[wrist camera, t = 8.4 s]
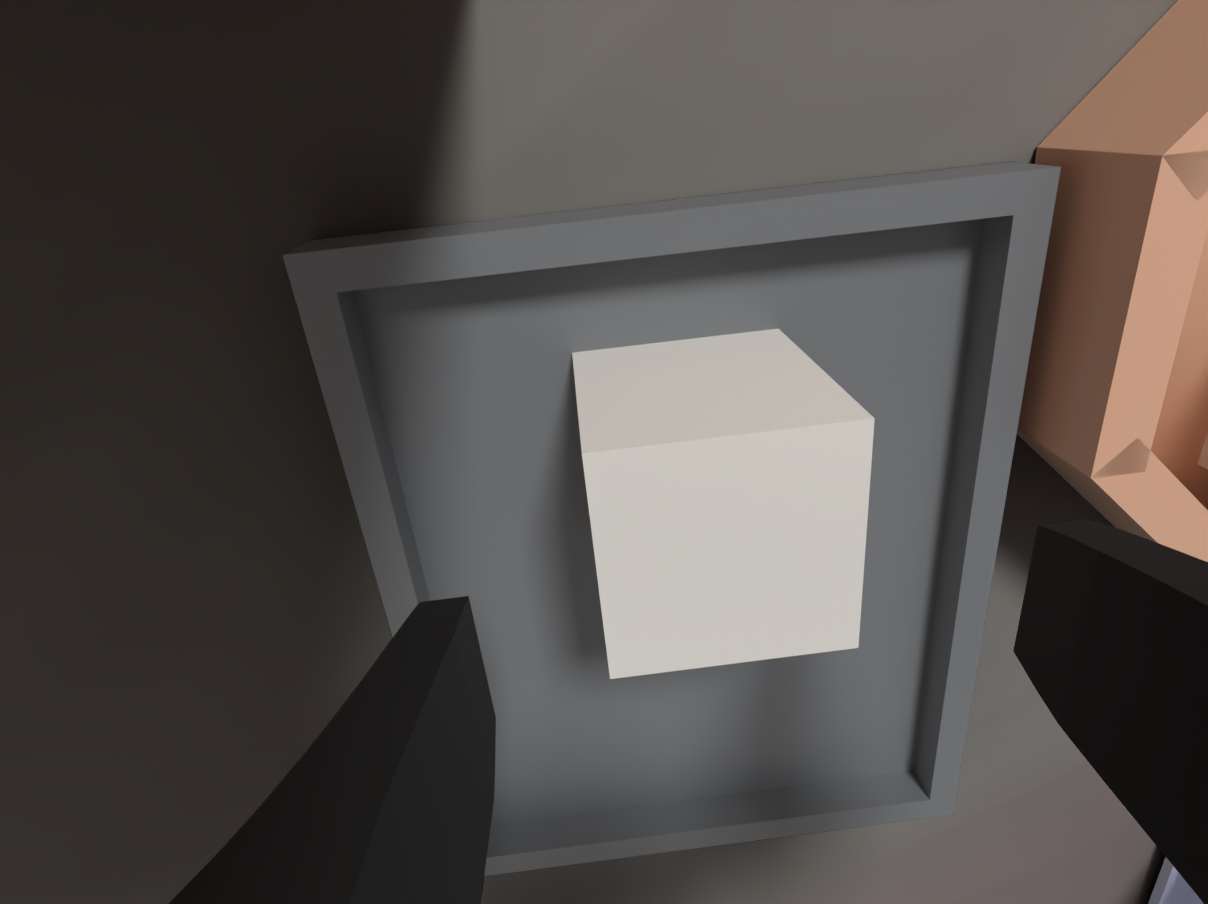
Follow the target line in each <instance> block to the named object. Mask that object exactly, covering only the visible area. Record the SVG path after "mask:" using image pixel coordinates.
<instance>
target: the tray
mask: <svg viewBox="0 0 1208 904" xmlns="http://www.w3.org/2000/svg"><path fill="white" fill-rule="evenodd" d="M1060 170H1061V167H1058V166H1048V165H1038V164H1029V163H1019V162H1000V163H991V164H982V165H973V166H964V167H955V168H947V169H938V170H929V171H920V172H911V173H902V174H894V175H885V176H876V177H867V178H858V179H849V180H840V181H832V182H823V183H814V184H805V185H796V186H787V187H778V188H770V189H761V190H752V191H743V192H734V193H725V194H716V195H708V196H699V197H690V198H681V199H672V200H663V201H654V202H646V203H637V204H628V205H619V206H610V207H601V208H592V209H584V210H575V211H566V212H557V213H548V214H539V215H530V216H522V217H513V218H504V219H495V220H486V221H477V222H468V223H460V224H451V225H442V226H433V227H424V228H415V229H406V230H398V231H389V232H380V233H371V234H362V235H353V236H344V237H336V238H327V239H318V240H310V241H308V242H306V243H304V244H302V245H300V246H298V247H297V248H295V249H293V250H291V251H289V252H287V253H285V254H283V255H282V256H283V259H284V263H285V266H286V270H287V273H288V277H289V280H290V283H291V287H292V290H293V294H294V297H295V301H296V304H297V308H298V311H299V315H300V318H301V322H302V325H303V328H304V332H305V335H306V339H307V342H308V346H309V349H310V353H311V356H312V360H313V363H314V367H315V370H316V374H317V377H318V380H319V384H320V387H321V391H322V394H323V398H324V401H325V405H326V408H327V412H328V415H329V419H330V422H331V425H332V429H333V432H334V436H335V439H336V443H337V446H338V450H339V453H340V457H341V460H342V464H343V467H344V470H345V474H346V477H347V481H348V484H349V488H350V491H351V495H352V498H353V502H354V505H355V509H356V512H357V515H358V519H359V522H360V526H361V529H362V533H363V536H364V540H365V543H366V547H367V550H368V554H369V557H370V560H371V564H372V567H373V571H374V574H375V578H376V581H377V585H378V588H379V592H380V595H381V599H382V602H383V605H384V609H385V612H386V616H387V619H388V623H389V626H390V630H391V633H392V637H394V635H395V634H396V632H397V631H398V630H399V628H400V627H401V626H402V624H403V623H404V621H405V620H406V619H407V617H408V616H409V615H410V613H411V612H412V611H413V610H414V608H415V607H416V606H417V605H418V604H419V602H424V601H432V600H440V599H448V598H456V597H464V596H469V600H470V605H471V609H472V614H473V618H474V623H475V627H476V632H477V636H478V640H479V645H480V649H481V654H482V658H483V663H484V667H485V672H486V676H487V681H488V685H489V690H490V694H491V698H492V703H493V707H494V712H495V716H496V745H495V789H494V804H493V812H492V820H491V828H490V836H489V843H488V851H487V859H486V866H485V874H484V876H490V875H498V874H505V873H513V872H520V871H528V870H536V869H543V868H551V867H558V866H566V865H574V864H581V863H589V862H597V861H604V860H612V859H619V858H627V857H635V856H642V855H650V854H657V853H665V852H673V851H680V850H688V849H696V848H703V847H711V846H718V845H726V844H734V843H741V842H749V841H756V840H764V839H772V838H779V837H787V836H794V835H802V834H810V833H817V832H825V831H833V830H840V829H848V828H855V827H863V826H871V825H878V824H886V823H893V822H901V821H909V820H916V819H924V818H932V817H939V816H947V815H953V813H954V807H955V801H956V795H957V789H958V783H959V777H960V771H961V765H962V759H963V753H964V747H965V741H966V735H967V729H968V723H969V717H970V711H971V705H972V699H973V693H974V687H975V681H976V675H977V669H978V663H979V657H980V651H981V645H982V639H983V633H984V627H985V621H986V615H987V609H988V603H989V597H990V591H991V585H992V579H993V573H994V567H995V561H996V555H997V549H998V543H999V537H1000V531H1001V525H1002V519H1003V513H1004V507H1005V501H1006V495H1007V489H1008V482H1009V476H1010V470H1011V464H1012V458H1013V452H1014V446H1015V440H1016V434H1017V428H1018V422H1019V416H1020V410H1021V404H1022V398H1023V392H1024V386H1025V380H1026V374H1027V368H1028V362H1029V356H1030V350H1031V344H1032V338H1033V332H1034V326H1035V320H1036V314H1037V308H1038V302H1039V296H1040V290H1041V284H1042V278H1043V272H1044V266H1045V260H1046V254H1047V248H1048V242H1049V236H1050V230H1051V224H1052V218H1053V212H1054V206H1055V200H1056V194H1057V188H1058V182H1059V176H1060ZM770 329H780V330H781V331H782V332H783V333H784V334H785V335H786V336H787V337H788V338H789V339H790V340H791V341H792V342H793V343H795V344H796V345H797V346H798V347H799V348H800V349H801V350H802V351H803V352H804V353H805V354H806V355H807V356H808V357H810V358H811V359H812V360H813V361H814V362H815V363H816V364H817V365H818V366H819V367H820V368H821V369H822V370H823V371H824V372H826V373H827V374H828V375H829V376H830V377H831V378H832V379H833V380H834V381H835V382H836V383H837V384H838V385H839V386H841V387H842V388H843V389H844V390H845V391H846V392H847V393H848V394H849V395H850V396H851V397H852V398H853V399H854V400H856V401H857V402H858V403H859V404H860V405H861V406H862V407H863V408H864V409H865V410H866V411H867V412H868V413H869V414H870V415H872V416H873V417H874V418H875V421H874V435H873V449H872V463H871V477H870V491H869V505H868V519H867V534H866V548H865V562H864V576H863V590H862V604H861V618H860V632H859V646H858V648H853V649H845V650H837V651H829V652H822V653H814V654H806V655H798V656H790V657H782V658H774V659H766V660H758V661H750V662H742V663H734V664H727V665H719V666H711V667H703V668H695V669H687V670H679V671H671V672H663V673H655V674H647V675H639V676H631V677H624V678H616V679H610V675H609V667H608V659H607V651H606V643H605V635H604V627H603V619H602V611H601V603H600V595H599V587H598V579H597V571H596V563H595V555H594V547H593V539H592V531H591V523H590V515H589V507H588V499H587V491H586V484H585V476H584V468H583V460H582V451H581V441H580V430H579V420H578V409H577V399H576V389H575V378H574V368H573V357H572V353H574V352H582V351H591V350H599V349H608V348H616V347H625V346H633V345H642V344H651V343H659V342H668V341H676V340H685V339H693V338H702V337H710V336H719V335H727V334H736V333H745V332H753V331H762V330H770Z"/></svg>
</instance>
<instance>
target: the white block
mask: <svg viewBox="0 0 1208 904" xmlns="http://www.w3.org/2000/svg"><path fill="white" fill-rule="evenodd" d="M1198 465H1200V466H1202V467H1204V468H1206V469H1208V432H1207V435H1206V438H1205V441H1204V445H1203V448H1202V451H1201V454H1200V457H1199V461H1198Z"/></svg>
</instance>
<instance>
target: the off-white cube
mask: <svg viewBox="0 0 1208 904" xmlns="http://www.w3.org/2000/svg"><path fill="white" fill-rule="evenodd" d="M572 357H573V368H574V378H575V389H576V399H577V409H578V420H579V430H580V441H581V451H582V460H583V468H584V476H585V484H586V491H587V499H588V507H589V515H590V523H591V531H592V539H593V547H594V555H595V563H596V571H597V579H598V587H599V595H600V603H601V611H602V619H603V627H604V635H605V643H606V651H607V659H608V667H609V675H610V679H616V678H624V677H631V676H639V675H647V674H655V673H663V672H671V671H679V670H687V669H695V668H703V667H711V666H719V665H727V664H734V663H742V662H750V661H758V660H766V659H774V658H782V657H790V656H798V655H806V654H814V653H822V652H829V651H837V650H845V649H853V648H858V646H859V632H860V618H861V604H862V590H863V576H864V562H865V548H866V534H867V519H868V505H869V491H870V477H871V463H872V449H873V435H874V421H875V418H874V417H873V416H872V415H870V414H869V413H868V412H867V411H866V410H865V409H864V408H863V407H862V406H861V405H860V404H859V403H858V402H857V401H856V400H854V399H853V398H852V397H851V396H850V395H849V394H848V393H847V392H846V391H845V390H844V389H843V388H842V387H841V386H839V385H838V384H837V383H836V382H835V381H834V380H833V379H832V378H831V377H830V376H829V375H828V374H827V373H826V372H824V371H823V370H822V369H821V368H820V367H819V366H818V365H817V364H816V363H815V362H814V361H813V360H812V359H811V358H810V357H808V356H807V355H806V354H805V353H804V352H803V351H802V350H801V349H800V348H799V347H798V346H797V345H796V344H795V343H793V342H792V341H791V340H790V339H789V338H788V337H787V336H786V335H785V334H784V333H783V332H782V331H781V330H780V329H770V330H762V331H753V332H745V333H736V334H727V335H719V336H710V337H702V338H693V339H685V340H676V341H668V342H659V343H651V344H642V345H633V346H625V347H616V348H608V349H599V350H591V351H582V352H574V353H572Z"/></svg>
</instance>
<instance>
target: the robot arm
mask: <svg viewBox="0 0 1208 904" xmlns="http://www.w3.org/2000/svg"><path fill="white" fill-rule="evenodd" d="M1014 653H1015V654H1016V656H1017V658H1018V659H1019V661H1020V663H1021V664H1022V666H1023V668H1024V670H1025V671H1026V673H1027V675H1028V676H1029V678H1030V680H1031V681H1032V683H1033V685H1034V686H1035V688H1036V690H1037V691H1038V693H1039V695H1040V696H1041V698H1042V699H1043V701H1044V702H1045V704H1046V705H1047V707H1048V708H1049V710H1050V712H1051V713H1052V715H1053V716H1054V718H1055V719H1056V721H1057V722H1058V724H1059V725H1060V726H1061V728H1062V729H1063V730H1064V732H1065V733H1066V734H1067V735H1068V737H1069V738H1070V739H1071V741H1072V742H1073V743H1074V744H1075V746H1076V747H1077V748H1078V749H1079V751H1080V752H1081V753H1082V754H1083V756H1084V757H1085V758H1086V759H1087V761H1088V762H1089V763H1090V764H1091V766H1092V767H1093V768H1094V769H1095V771H1096V772H1097V773H1098V774H1099V776H1100V777H1101V778H1102V779H1103V781H1104V782H1105V783H1106V784H1107V785H1108V787H1109V788H1110V789H1111V790H1112V792H1113V793H1114V794H1115V795H1116V796H1117V798H1118V799H1119V800H1120V801H1121V803H1122V804H1123V805H1124V806H1125V807H1126V809H1127V810H1128V811H1129V812H1130V814H1131V815H1132V816H1133V817H1134V818H1135V820H1136V821H1137V822H1138V823H1139V825H1140V826H1141V827H1142V828H1143V830H1144V831H1145V832H1146V833H1147V834H1148V836H1149V837H1150V838H1151V839H1152V841H1153V842H1154V843H1155V844H1156V845H1157V847H1158V848H1159V849H1160V850H1161V852H1162V853H1163V854H1164V855H1165V856H1166V857H1165V859H1164V862H1163V865H1162V868H1161V870H1160V873H1159V876H1158V878H1157V881H1156V884H1155V886H1154V889H1153V892H1152V895H1151V897H1150V900H1149V903H1148V904H1208V562H1206V561H1203V560H1201V559H1198V558H1196V557H1193V556H1190V555H1188V554H1185V553H1183V552H1180V551H1177V550H1175V549H1172V548H1170V547H1167V546H1164V545H1162V544H1159V543H1156V542H1154V541H1151V540H1148V539H1145V538H1143V537H1140V536H1137V535H1135V534H1132V533H1129V532H1126V531H1123V530H1120V529H1117V528H1114V527H1111V526H1108V525H1105V524H1102V523H1098V522H1095V521H1092V520H1088V519H1079V520H1071V521H1063V522H1055V523H1047V524H1039V525H1038V528H1037V533H1036V538H1035V543H1034V549H1033V554H1032V559H1031V564H1030V569H1029V574H1028V579H1027V585H1026V590H1025V595H1024V600H1023V605H1022V610H1021V615H1020V621H1019V626H1018V631H1017V636H1016V641H1015V646H1014ZM495 745H496V716H495V712H494V707H493V703H492V698H491V694H490V690H489V685H488V681H487V676H486V672H485V667H484V663H483V658H482V654H481V649H480V645H479V640H478V636H477V632H476V627H475V623H474V618H473V614H472V609H471V605H470V600H469V596H464V597H456V598H448V599H440V600H432V601H424V602H419V604H418V605H417V606H416V607H415V608H414V610H413V611H412V612H411V613H410V615H409V616H408V617H407V619H406V620H405V621H404V623H403V624H402V626H401V627H400V628H399V630H398V631H397V632H396V634H395V635H394V637H393V638H392V639H391V641H390V642H389V644H388V645H387V646H386V648H385V649H384V651H383V652H382V653H381V655H380V656H379V657H378V659H377V660H376V662H375V663H374V664H373V666H372V667H371V668H370V670H369V671H368V672H367V674H366V675H365V676H364V678H363V679H362V681H361V682H360V683H359V685H358V686H357V687H356V689H355V690H354V691H353V692H352V694H351V695H350V696H349V698H348V699H347V700H346V702H345V703H344V704H343V705H342V707H341V708H340V709H339V711H338V712H337V713H336V714H335V716H334V717H333V718H332V720H331V721H330V722H329V724H328V725H327V726H326V727H325V729H324V730H323V731H322V733H321V734H320V735H319V736H318V738H317V739H316V740H315V741H314V743H313V744H312V745H311V746H310V748H309V749H308V750H307V751H306V752H305V754H304V755H303V756H302V757H301V758H300V760H299V761H298V762H297V763H296V764H295V766H294V767H293V768H292V769H291V770H290V771H289V773H288V774H287V775H286V776H285V777H284V779H283V780H282V781H281V782H280V783H279V784H278V786H277V787H276V788H275V789H274V790H273V792H272V793H271V794H270V795H269V796H268V797H267V799H266V800H265V801H264V802H263V803H262V805H261V806H260V807H259V808H258V809H257V810H256V812H255V813H254V814H253V815H252V816H251V817H250V818H249V819H248V821H247V822H246V823H245V824H244V825H243V826H242V827H241V828H240V829H239V830H238V832H237V833H236V834H235V835H234V836H233V837H232V838H231V839H230V840H229V842H228V843H227V844H226V845H225V846H224V847H223V848H222V849H221V850H220V851H219V852H218V853H217V854H216V856H215V857H214V858H213V859H212V860H211V861H210V862H209V863H208V864H207V865H206V866H205V867H204V868H203V869H202V870H201V871H200V872H199V873H198V874H197V875H196V876H195V877H194V878H193V879H192V880H191V881H190V882H189V883H188V884H187V886H186V887H185V888H184V889H183V890H182V891H181V892H180V893H179V894H178V895H177V896H176V897H175V898H174V899H173V900H172V901H171V902H170V903H169V904H481V896H482V889H483V881H484V874H485V866H486V859H487V851H488V843H489V836H490V828H491V820H492V812H493V804H494V789H495Z"/></svg>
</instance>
